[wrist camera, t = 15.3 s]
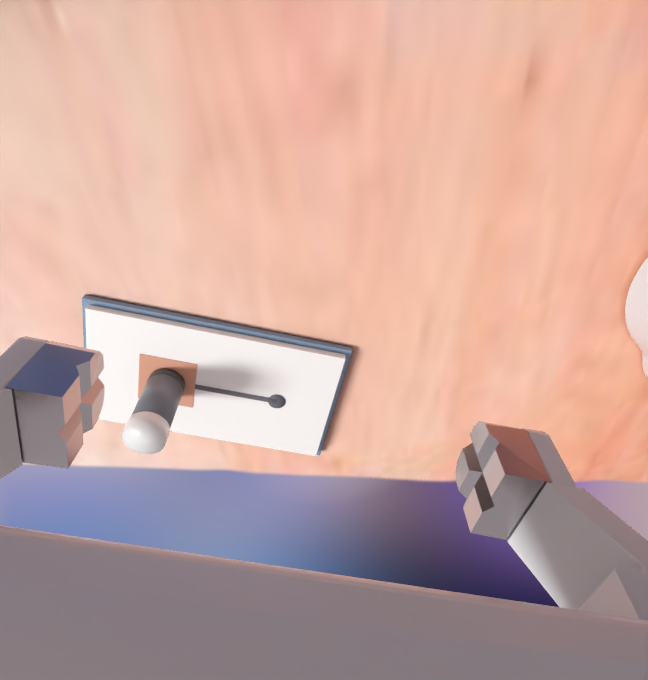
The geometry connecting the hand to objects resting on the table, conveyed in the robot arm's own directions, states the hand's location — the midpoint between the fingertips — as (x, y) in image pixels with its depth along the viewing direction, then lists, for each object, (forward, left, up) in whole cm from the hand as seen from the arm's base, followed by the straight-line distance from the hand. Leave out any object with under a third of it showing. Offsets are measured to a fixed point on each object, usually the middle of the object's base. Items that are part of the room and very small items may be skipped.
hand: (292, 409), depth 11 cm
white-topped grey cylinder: (+9, +22, -27) cm, 36 cm away
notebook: (+5, +22, -29) cm, 37 cm away
